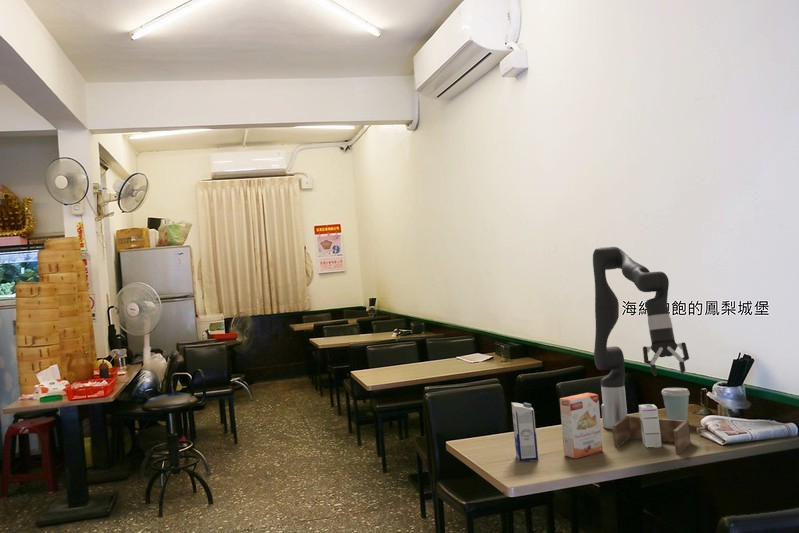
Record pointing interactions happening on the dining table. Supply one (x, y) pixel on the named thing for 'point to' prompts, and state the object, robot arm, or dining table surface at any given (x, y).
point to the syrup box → (650, 425)
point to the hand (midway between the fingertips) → (668, 374)
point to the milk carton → (524, 432)
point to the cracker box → (581, 425)
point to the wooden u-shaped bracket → (668, 430)
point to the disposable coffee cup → (676, 403)
